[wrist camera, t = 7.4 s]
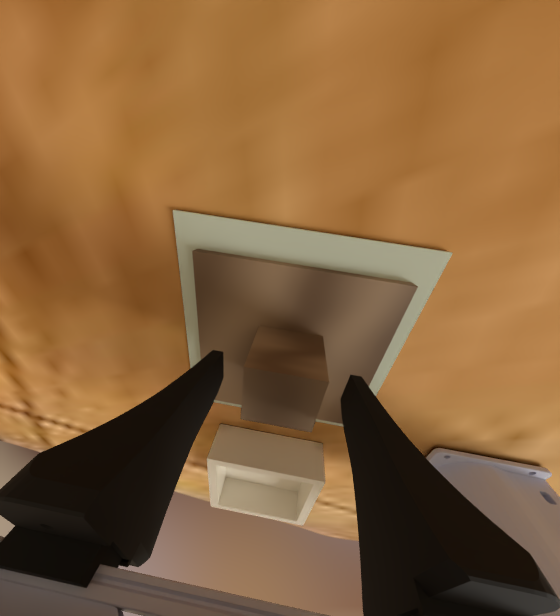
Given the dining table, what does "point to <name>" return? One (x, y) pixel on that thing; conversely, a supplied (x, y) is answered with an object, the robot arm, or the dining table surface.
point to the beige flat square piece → (309, 252)
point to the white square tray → (265, 474)
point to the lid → (293, 333)
